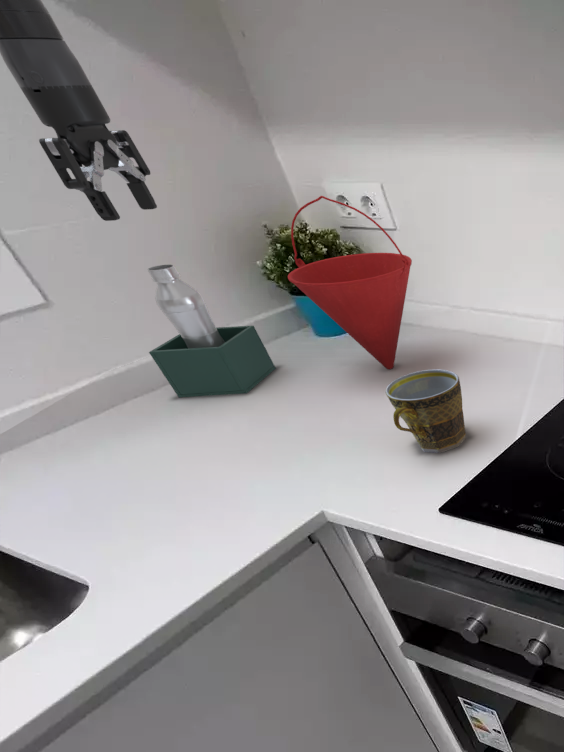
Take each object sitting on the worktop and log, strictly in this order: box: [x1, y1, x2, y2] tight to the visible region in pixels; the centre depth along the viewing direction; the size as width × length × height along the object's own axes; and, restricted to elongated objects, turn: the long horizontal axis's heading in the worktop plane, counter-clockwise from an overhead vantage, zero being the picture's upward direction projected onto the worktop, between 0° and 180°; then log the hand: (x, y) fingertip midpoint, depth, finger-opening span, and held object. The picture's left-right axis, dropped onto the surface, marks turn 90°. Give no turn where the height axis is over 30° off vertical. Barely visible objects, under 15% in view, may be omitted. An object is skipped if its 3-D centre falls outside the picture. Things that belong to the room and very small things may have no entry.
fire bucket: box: [287, 195, 413, 370], centre depth 98 cm, size 22×20×30 cm
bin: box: [148, 325, 277, 398], centre depth 101 cm, size 12×11×9 cm
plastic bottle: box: [147, 264, 225, 349], centre depth 97 cm, size 6×7×20 cm
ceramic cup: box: [385, 368, 467, 454], centre depth 81 cm, size 13×10×10 cm
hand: (131, 214), depth 86 cm, fingers open, 8 cm apart
